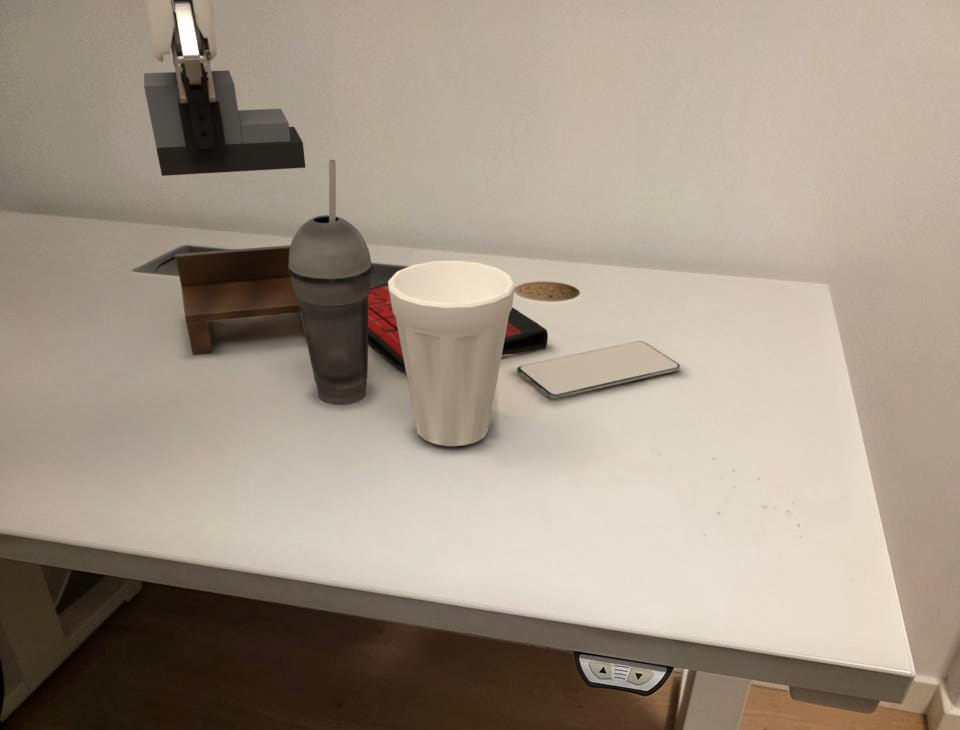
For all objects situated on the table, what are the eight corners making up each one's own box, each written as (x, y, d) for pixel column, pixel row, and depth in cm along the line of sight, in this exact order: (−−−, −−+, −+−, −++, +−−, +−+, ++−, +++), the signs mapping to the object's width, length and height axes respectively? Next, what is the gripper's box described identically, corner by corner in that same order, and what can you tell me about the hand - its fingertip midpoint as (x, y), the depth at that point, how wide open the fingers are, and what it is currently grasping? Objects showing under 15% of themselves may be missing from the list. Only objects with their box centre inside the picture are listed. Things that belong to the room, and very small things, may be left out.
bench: (192, 354, 91) (178, 284, 86) (188, 321, 97) (174, 253, 92) (331, 340, 94) (324, 271, 89) (318, 308, 100) (311, 243, 96)
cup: (372, 429, 79) (361, 278, 71) (458, 396, 84) (458, 251, 76) (445, 474, 74) (443, 316, 65) (533, 435, 79) (541, 284, 70)
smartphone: (514, 366, 88) (642, 340, 93) (514, 372, 88) (641, 345, 93) (550, 396, 83) (682, 366, 88) (550, 401, 84) (681, 371, 89)
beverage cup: (335, 370, 88) (313, 142, 75) (396, 388, 85) (384, 155, 72) (286, 399, 83) (254, 161, 70) (350, 419, 81) (328, 175, 68)
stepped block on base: (161, 176, 75) (143, 86, 71) (160, 158, 80) (143, 72, 75) (305, 167, 78) (296, 80, 74) (297, 151, 82) (287, 67, 78)
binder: (451, 263, 105) (549, 327, 91) (452, 283, 106) (549, 349, 93) (323, 292, 99) (407, 365, 85) (326, 313, 101) (409, 387, 87)
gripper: (109, -130, 71) (159, 127, 83) (101, -126, 59) (161, 176, 71) (206, -129, 73) (241, 123, 85) (219, -125, 60) (259, 170, 72)
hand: (205, 145), depth 77 cm, fingers closed on stepped block on base, 6 cm apart
